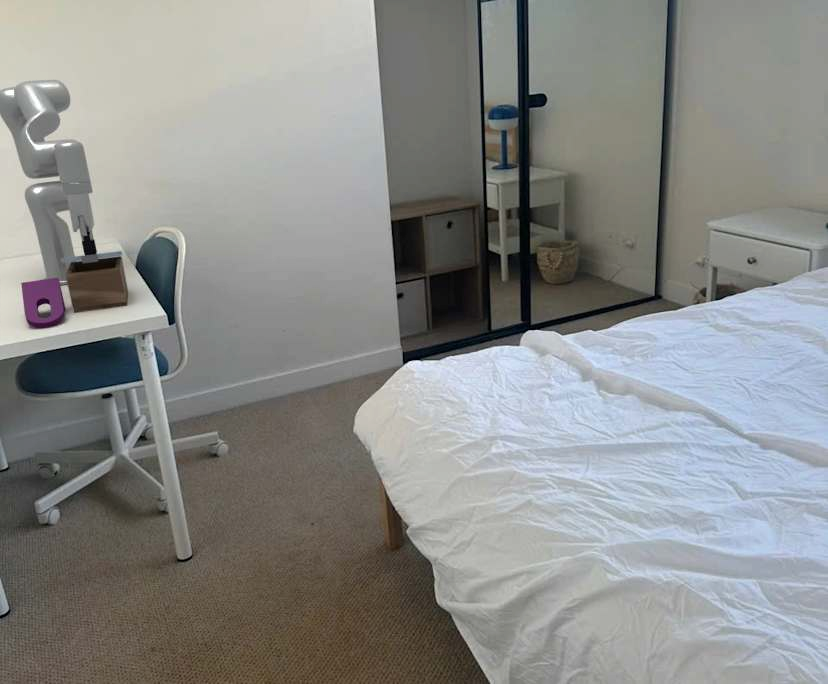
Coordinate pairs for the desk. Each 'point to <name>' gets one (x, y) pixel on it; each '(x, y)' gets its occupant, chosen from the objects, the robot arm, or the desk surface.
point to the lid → (91, 257)
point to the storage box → (97, 284)
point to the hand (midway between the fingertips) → (90, 254)
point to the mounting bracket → (43, 302)
